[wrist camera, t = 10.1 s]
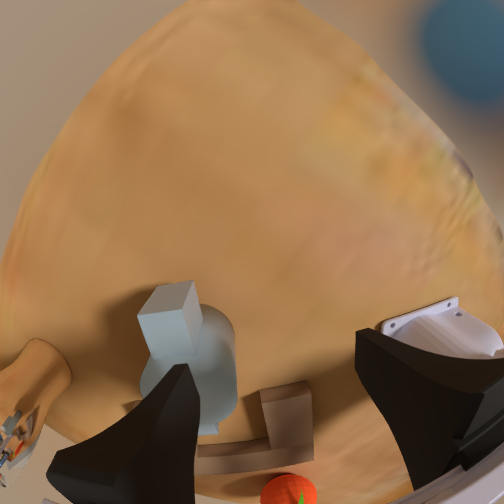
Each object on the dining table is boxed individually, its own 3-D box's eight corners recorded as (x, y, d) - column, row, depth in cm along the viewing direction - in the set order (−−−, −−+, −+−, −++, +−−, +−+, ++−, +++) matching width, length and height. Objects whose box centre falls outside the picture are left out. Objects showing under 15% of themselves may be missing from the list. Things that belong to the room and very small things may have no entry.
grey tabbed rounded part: (242, 368, 21) (248, 430, 15) (178, 376, 21) (164, 436, 14) (220, 265, 19) (214, 305, 12) (145, 278, 19) (108, 320, 12)
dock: (306, 380, 22) (311, 393, 20) (310, 448, 25) (313, 460, 23) (135, 400, 22) (130, 412, 20) (174, 463, 24) (172, 475, 22)
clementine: (265, 461, 25) (273, 509, 18) (321, 459, 26) (335, 502, 19) (253, 488, 26) (257, 529, 20) (301, 486, 27) (311, 524, 20)
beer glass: (64, 399, 21) (9, 496, 7) (19, 357, 20) (-53, 437, 5) (85, 370, 21) (14, 487, 6) (33, 321, 19) (-63, 410, 5)
